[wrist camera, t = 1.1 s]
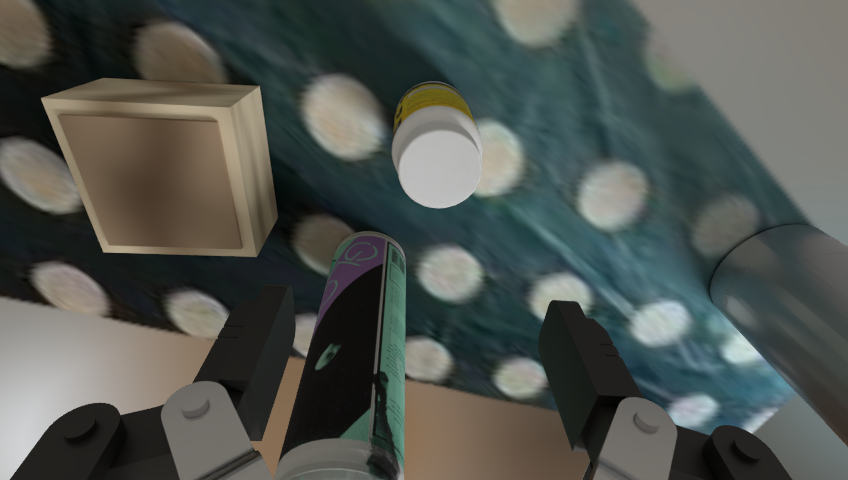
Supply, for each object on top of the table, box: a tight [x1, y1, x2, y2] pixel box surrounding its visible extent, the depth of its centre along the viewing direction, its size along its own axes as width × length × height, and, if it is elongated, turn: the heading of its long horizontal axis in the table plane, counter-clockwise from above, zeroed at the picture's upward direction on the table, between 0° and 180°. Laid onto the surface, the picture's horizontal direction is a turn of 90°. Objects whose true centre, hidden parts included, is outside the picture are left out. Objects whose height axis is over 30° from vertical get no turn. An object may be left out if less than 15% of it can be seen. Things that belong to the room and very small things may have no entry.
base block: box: [41, 78, 278, 257], centre depth 25 cm, size 9×9×5 cm
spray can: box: [274, 231, 406, 480], centre depth 24 cm, size 6×6×20 cm
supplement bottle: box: [392, 81, 483, 208], centre depth 23 cm, size 5×5×8 cm
